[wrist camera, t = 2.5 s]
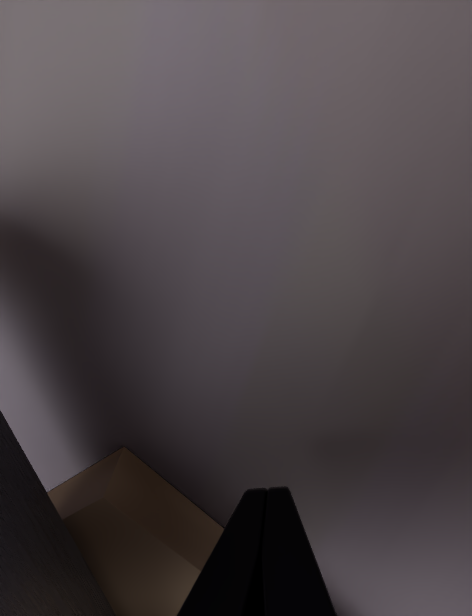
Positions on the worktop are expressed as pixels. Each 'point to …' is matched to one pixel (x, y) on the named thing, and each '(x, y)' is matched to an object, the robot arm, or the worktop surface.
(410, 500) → the worktop surface
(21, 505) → the amber-knobbed lever
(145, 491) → the block
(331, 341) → the worktop surface
